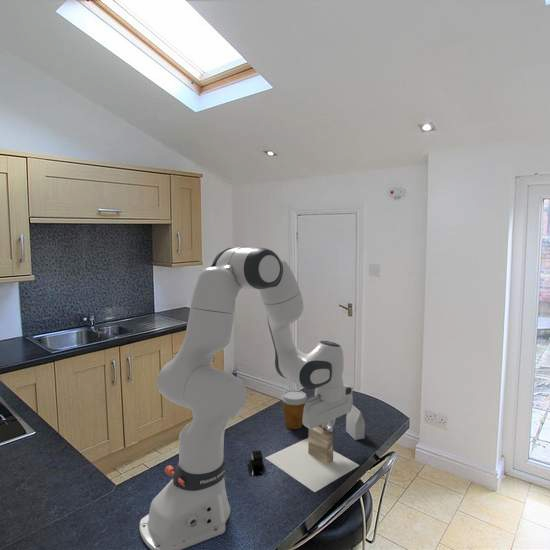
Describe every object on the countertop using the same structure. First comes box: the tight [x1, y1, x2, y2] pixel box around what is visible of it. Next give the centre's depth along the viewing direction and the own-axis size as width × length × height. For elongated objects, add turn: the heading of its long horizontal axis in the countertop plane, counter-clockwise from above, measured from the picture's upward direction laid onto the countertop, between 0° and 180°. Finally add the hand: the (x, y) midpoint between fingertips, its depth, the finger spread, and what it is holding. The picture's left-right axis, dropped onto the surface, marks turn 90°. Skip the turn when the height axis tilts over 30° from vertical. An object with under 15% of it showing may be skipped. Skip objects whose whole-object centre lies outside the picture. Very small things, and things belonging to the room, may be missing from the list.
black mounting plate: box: [246, 450, 266, 477], centre depth 125 cm, size 12×7×5 cm, turn 11°
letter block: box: [308, 425, 335, 464], centre depth 129 cm, size 3×8×9 cm, turn 40°
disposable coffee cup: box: [281, 389, 308, 430], centre depth 150 cm, size 10×10×12 cm
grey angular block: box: [345, 404, 366, 441], centre depth 144 cm, size 4×7×10 cm, turn 18°
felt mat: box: [265, 437, 360, 493], centre depth 127 cm, size 20×22×1 cm
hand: (327, 432), depth 131 cm, fingers closed
